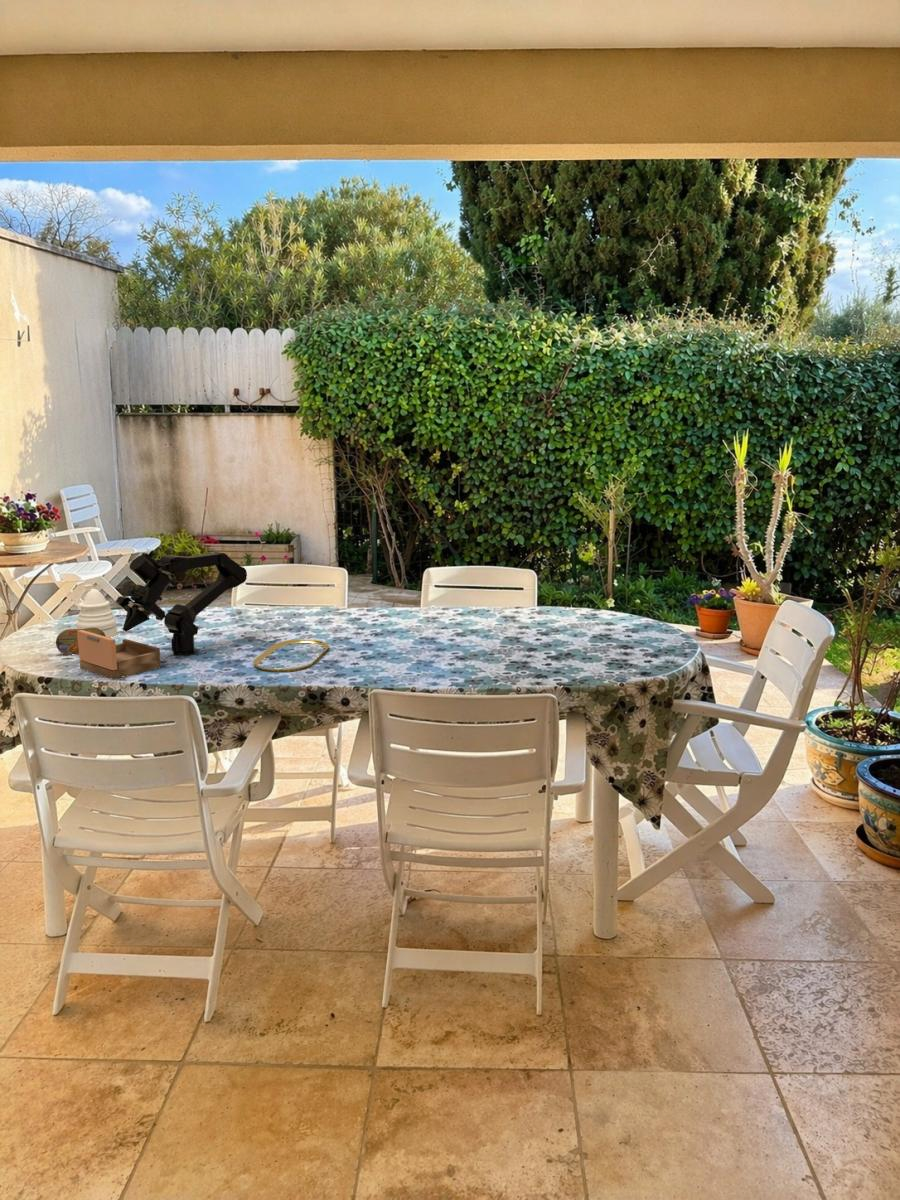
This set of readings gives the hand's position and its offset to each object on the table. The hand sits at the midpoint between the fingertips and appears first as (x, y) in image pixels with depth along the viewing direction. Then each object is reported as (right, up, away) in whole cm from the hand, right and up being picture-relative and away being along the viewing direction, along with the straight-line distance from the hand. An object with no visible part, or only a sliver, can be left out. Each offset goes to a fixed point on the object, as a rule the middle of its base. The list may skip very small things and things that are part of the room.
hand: (124, 630), depth 277 cm
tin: (-19, -8, +17) cm, 27 cm away
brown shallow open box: (-1, -11, +1) cm, 11 cm away
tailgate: (-6, -10, -6) cm, 13 cm away
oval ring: (+49, -9, +14) cm, 51 cm away
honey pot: (-23, -3, +38) cm, 45 cm away
